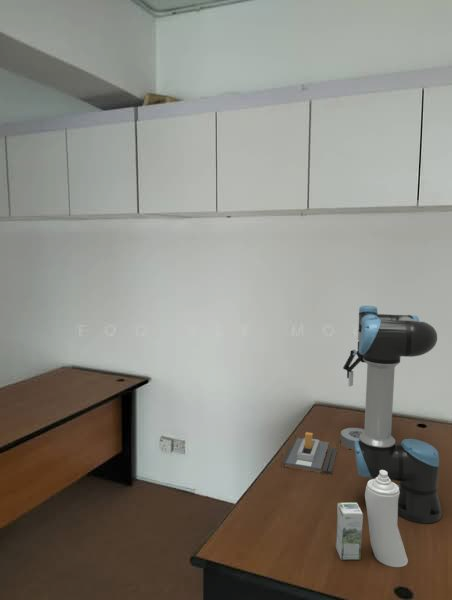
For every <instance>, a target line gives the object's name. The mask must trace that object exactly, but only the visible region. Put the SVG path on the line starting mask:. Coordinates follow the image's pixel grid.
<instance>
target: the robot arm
mask: <svg viewBox="0 0 452 600" xmlns="http://www.w3.org/2000/svg"><path fill="white" fill-rule="evenodd" d="M419 319H420V318H419V317H418V316H417V315H412V314H388V313H387V314H383V313H382V314H381V313H378V307H377V306H375V305H361V306H359V310H358V331H357V332H358V333H357V350H356V349H352V350H350V352H349V354H350V355H349V356H348V359H347V360H346V362H345V364H344V365H343V370H345V371H346V372H347V373H346V379H348V385H347V386H348V387H352V386H353V385H354V371H353V369H355V367H357V366H358V365H359V363H360V362H361V363H366V364H367V365H366V366H367V367H366V386H365V388H366V389H365V390H366V391H365V410H364V411H365V412H364V428H363V429H364V432H363V433H362V434H360V436H359V441H358V440H357V441H355V442H354V443H355V451H354V453H355V462H356V463H355V464H356V469H357V473H358V475H359V476H360V477H362V478H370V480H372V479H376V477H378V475H379V473H380V470H385V471H387V473H388V477H389V479H390V480H391V481H398V482H399V484H398V487H399V491H400V494H399V498H398V515H399V516H400V517H402V518H404V519H405V520H408V521H410V522H414V523H419V524H434V523H437V522H438V521H440V520H441V518H442V510H443V509H442V507H441V502H440V499H439V495H438V481H439V479H438V478H439V466H440V457H439V451H438V450H437V449H436V448H435V447H434V446H433V445H432V444H429V443H427V442H425V441H422V440H419V439H414V438H405V439H402V440H401V443H400V444H399V443H396V439H395V438H394V436H392V422H393V421H392V420H393V409H394V407H393V406H394V405H393V404H394V388H395V387H394V386H395V384H394V383H395V372H396V371H395V368H396V366H397V365H399V364H400V363H401V357H405V358H406V357H419V356H422V355H425V354H428V353H429V352H430V351H431V350H433V349H434V348H435V347H436V344H437V341H438V334H437V333H438V332H437V331H436V329H435V328H434V327H433V326H432V325H431V324H430V323H427V322H425V321H420V320H419ZM355 356H357V358H356V359H355ZM354 359H355V361H353V360H354ZM352 362H353V363H352Z"/></svg>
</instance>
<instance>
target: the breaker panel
mask: <svg viewBox="0 0 452 600" xmlns="http://www.w3.org/2000/svg"><path fill="white" fill-rule="evenodd" d="M328 445H329V446H330V442H329V441H321V440H320V439H316V438H313V441H312V451H311V453H310V454H308V453H304V452H305V437H303V438H300V437H297V438H296V440H295V444H294V446H291V445H290V446H289V447H288V451H287V453H286V454H285V456H284V458H283V460H282V462H281V465H282V464H283V465H285V464H286V465H290V466H296V467H300V468H305V469H310V470H315V471H320V472H321V473H323V472H324V473H327V475H328V474H331V473H332V474H333V470H334V466H335V462H336V458H335V456H336V457H337V454H336V452H337V453H338V448H333V447H329V448H328ZM327 449H328V451H327ZM332 451H333V452H332ZM326 452H327V454H326ZM331 454H332V456H331ZM325 456H326V458H325ZM330 458H331V460H330ZM324 459H325V461H324ZM334 461H335V462H334ZM329 462H330V463H329ZM323 463H324V464H323ZM333 465H334V466H333ZM322 466H323V468H322ZM328 466H329V467H328ZM321 469H322V471H321ZM327 469H328V471H327ZM332 469H333V470H332ZM332 474H331V475H332Z"/></svg>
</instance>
